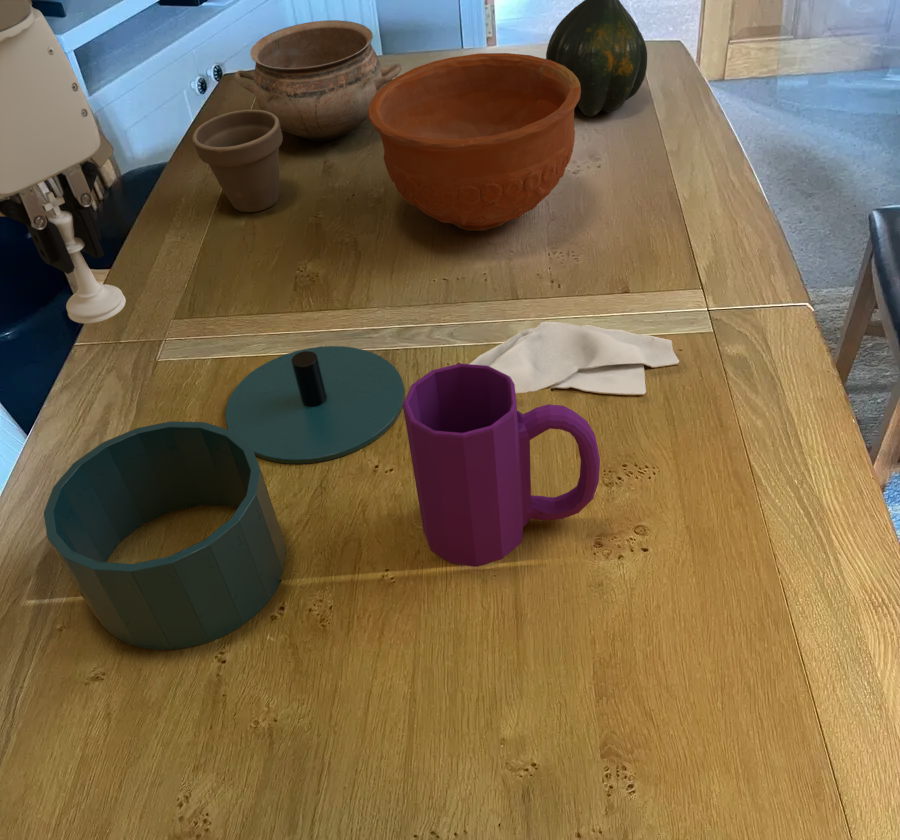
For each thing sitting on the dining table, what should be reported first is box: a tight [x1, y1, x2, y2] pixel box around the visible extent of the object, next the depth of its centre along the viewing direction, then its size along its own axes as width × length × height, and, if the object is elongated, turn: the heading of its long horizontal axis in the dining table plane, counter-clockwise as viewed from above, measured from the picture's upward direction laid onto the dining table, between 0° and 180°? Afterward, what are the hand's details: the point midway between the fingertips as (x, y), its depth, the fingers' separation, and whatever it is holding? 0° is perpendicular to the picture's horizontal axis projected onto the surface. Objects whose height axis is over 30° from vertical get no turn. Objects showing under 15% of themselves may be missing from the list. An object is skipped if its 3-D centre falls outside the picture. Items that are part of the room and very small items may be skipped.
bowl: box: [368, 52, 581, 232], centre depth 115 cm, size 25×25×15 cm
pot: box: [43, 420, 287, 651], centre depth 80 cm, size 18×18×10 cm
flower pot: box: [192, 109, 284, 213], centre depth 125 cm, size 12×11×10 cm
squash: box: [545, 0, 648, 117], centre depth 135 cm, size 14×15×15 cm
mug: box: [402, 363, 601, 568], centre depth 78 cm, size 9×16×15 cm, turn 92°
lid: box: [224, 345, 405, 465], centre depth 95 cm, size 19×19×6 cm
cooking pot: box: [234, 19, 402, 143], centre depth 137 cm, size 25×19×12 cm
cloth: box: [469, 321, 680, 396], centre depth 98 cm, size 26×14×2 cm, turn 88°
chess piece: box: [41, 190, 127, 324], centre depth 76 cm, size 5×5×10 cm
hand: (76, 258), depth 76 cm, fingers closed on chess piece
